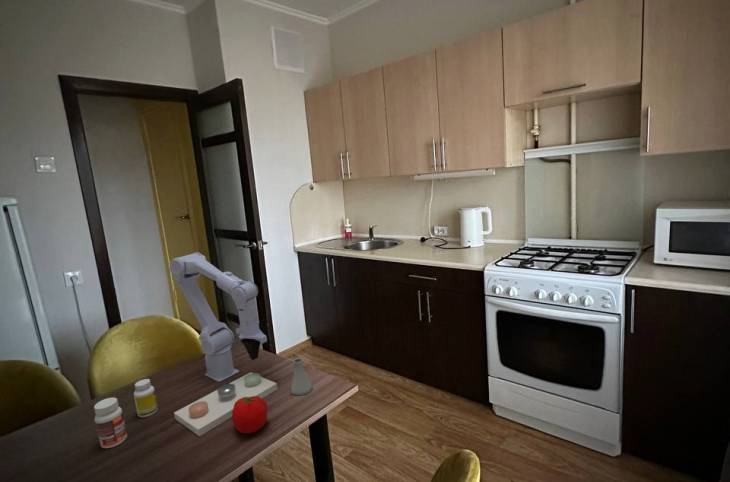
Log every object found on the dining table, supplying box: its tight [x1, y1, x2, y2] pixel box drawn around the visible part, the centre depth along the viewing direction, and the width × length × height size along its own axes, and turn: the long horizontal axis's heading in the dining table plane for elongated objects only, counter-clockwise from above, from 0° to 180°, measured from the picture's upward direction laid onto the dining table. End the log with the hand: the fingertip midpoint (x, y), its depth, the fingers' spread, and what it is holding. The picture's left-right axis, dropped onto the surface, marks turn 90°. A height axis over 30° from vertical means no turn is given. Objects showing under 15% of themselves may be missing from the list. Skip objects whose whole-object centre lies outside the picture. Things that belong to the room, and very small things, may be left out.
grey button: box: [216, 383, 236, 398], centre depth 114 cm, size 5×5×2 cm
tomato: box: [231, 396, 269, 434], centre depth 102 cm, size 9×10×8 cm
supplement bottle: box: [133, 378, 159, 418], centre depth 114 cm, size 5×5×10 cm
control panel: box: [173, 371, 278, 437], centre depth 115 cm, size 14×26×2 cm, turn 141°
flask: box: [290, 357, 313, 396], centre depth 118 cm, size 7×7×10 cm
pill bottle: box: [93, 397, 128, 449], centre depth 101 cm, size 6×6×11 cm
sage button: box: [244, 372, 261, 387], centre depth 121 cm, size 5×5×2 cm
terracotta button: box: [189, 401, 208, 418], centre depth 108 cm, size 5×5×2 cm
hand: (254, 358), depth 125 cm, fingers closed
